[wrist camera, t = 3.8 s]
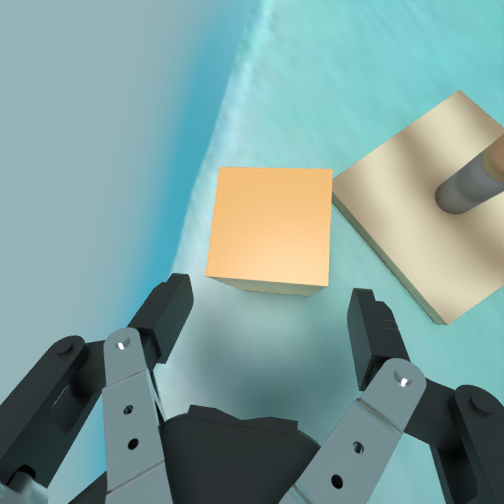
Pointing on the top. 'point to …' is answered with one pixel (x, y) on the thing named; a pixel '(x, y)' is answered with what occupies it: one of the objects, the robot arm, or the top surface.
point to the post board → (434, 206)
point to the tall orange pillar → (271, 229)
